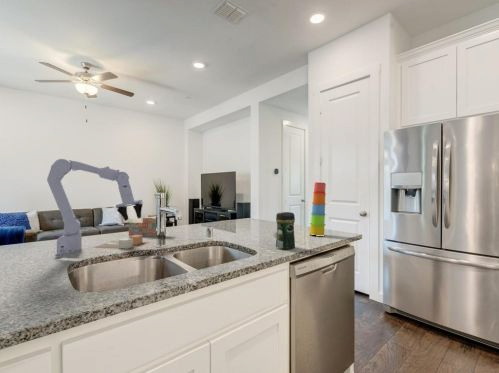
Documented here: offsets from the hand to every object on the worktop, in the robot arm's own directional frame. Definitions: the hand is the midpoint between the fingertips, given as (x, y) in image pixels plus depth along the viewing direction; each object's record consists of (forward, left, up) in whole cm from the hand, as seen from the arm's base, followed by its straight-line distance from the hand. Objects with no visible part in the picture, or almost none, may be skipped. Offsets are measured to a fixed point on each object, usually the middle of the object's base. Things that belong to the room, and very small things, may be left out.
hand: (133, 218), depth 135 cm
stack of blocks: (+22, +5, -14) cm, 27 cm away
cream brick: (-9, -2, -13) cm, 16 cm away
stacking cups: (+46, -100, -14) cm, 111 cm away
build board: (-4, +3, -14) cm, 15 cm away
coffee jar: (+9, -80, -14) cm, 82 cm away
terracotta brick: (0, -2, -13) cm, 13 cm away
